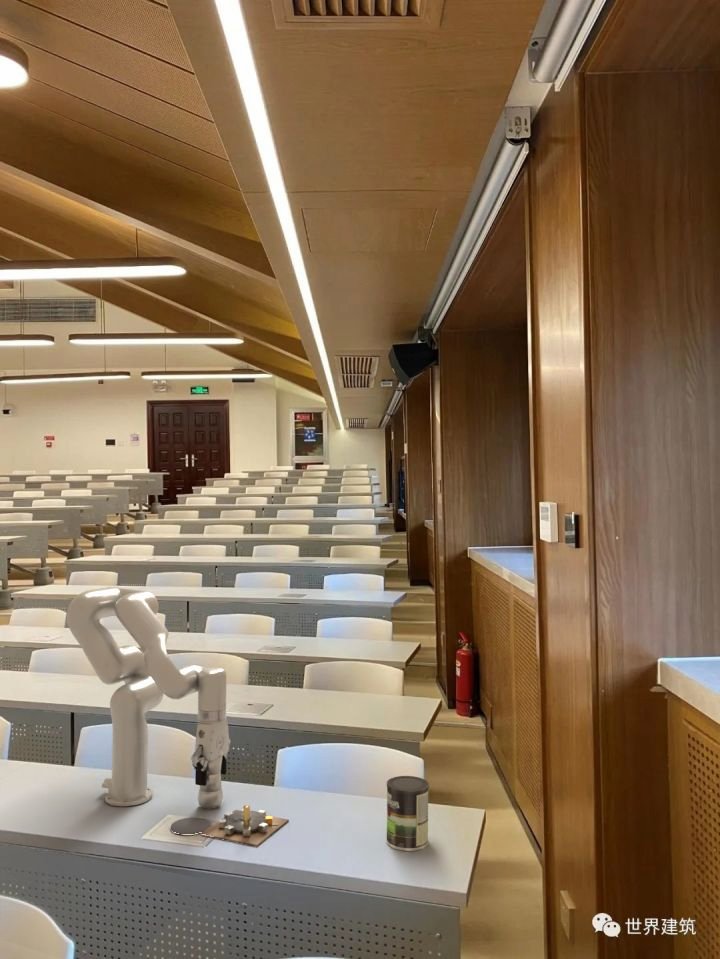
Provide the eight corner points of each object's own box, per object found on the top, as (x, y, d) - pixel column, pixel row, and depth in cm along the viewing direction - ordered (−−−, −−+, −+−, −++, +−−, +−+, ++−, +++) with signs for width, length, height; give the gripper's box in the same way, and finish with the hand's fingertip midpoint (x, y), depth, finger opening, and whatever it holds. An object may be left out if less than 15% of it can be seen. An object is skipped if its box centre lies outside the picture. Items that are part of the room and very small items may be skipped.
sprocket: (236, 841, 176) (237, 814, 177) (209, 823, 186) (209, 798, 187) (282, 826, 185) (282, 801, 185) (253, 810, 195) (254, 786, 195)
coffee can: (396, 854, 172) (396, 793, 173) (379, 836, 182) (380, 778, 182) (436, 847, 176) (436, 787, 176) (417, 830, 185) (417, 773, 186)
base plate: (200, 835, 181) (200, 832, 181) (235, 811, 196) (235, 808, 196) (257, 847, 175) (257, 844, 175) (288, 821, 190) (288, 818, 190)
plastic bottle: (217, 812, 195) (218, 736, 196) (193, 810, 197) (194, 734, 198) (226, 803, 202) (227, 729, 203) (203, 801, 203) (204, 727, 204)
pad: (162, 831, 183) (162, 829, 183) (186, 816, 193) (186, 814, 193) (195, 838, 180) (195, 836, 180) (218, 823, 189) (218, 821, 189)
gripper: (205, 724, 191) (204, 792, 190) (240, 708, 207) (240, 771, 206) (181, 721, 194) (180, 788, 193) (218, 705, 210) (217, 767, 209)
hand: (211, 779), depth 200 cm, fingers open, 9 cm apart
